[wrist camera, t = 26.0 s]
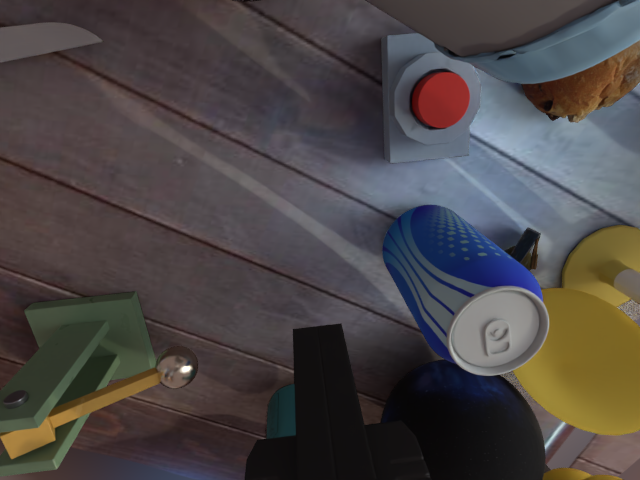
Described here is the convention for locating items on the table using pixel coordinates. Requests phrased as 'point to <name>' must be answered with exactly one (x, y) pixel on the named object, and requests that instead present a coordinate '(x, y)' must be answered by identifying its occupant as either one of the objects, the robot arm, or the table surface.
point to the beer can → (465, 291)
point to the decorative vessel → (586, 369)
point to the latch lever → (106, 398)
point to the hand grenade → (526, 249)
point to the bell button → (440, 99)
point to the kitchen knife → (41, 39)
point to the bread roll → (588, 87)
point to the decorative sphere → (468, 424)
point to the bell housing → (398, 86)
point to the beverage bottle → (281, 413)
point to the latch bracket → (71, 368)
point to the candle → (606, 265)
